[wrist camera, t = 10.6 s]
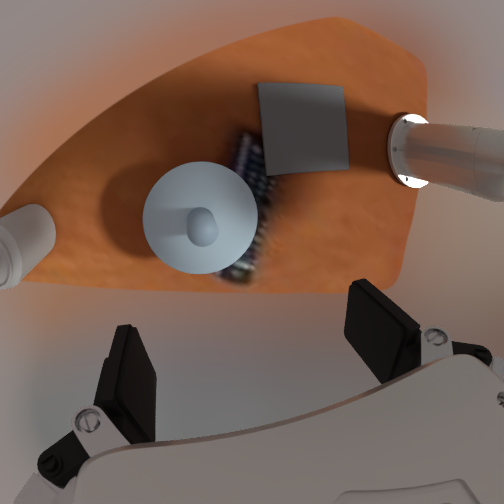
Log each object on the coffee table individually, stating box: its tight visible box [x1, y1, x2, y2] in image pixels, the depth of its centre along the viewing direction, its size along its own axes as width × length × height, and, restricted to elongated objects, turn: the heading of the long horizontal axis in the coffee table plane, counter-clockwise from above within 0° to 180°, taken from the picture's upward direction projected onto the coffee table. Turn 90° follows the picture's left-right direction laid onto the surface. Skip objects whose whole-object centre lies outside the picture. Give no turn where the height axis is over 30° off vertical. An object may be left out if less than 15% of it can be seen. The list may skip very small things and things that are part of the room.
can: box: [0, 204, 56, 290], centre depth 22 cm, size 8×8×12 cm
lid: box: [143, 161, 258, 274], centre depth 26 cm, size 12×12×5 cm
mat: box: [257, 83, 349, 176], centre depth 32 cm, size 12×12×1 cm
